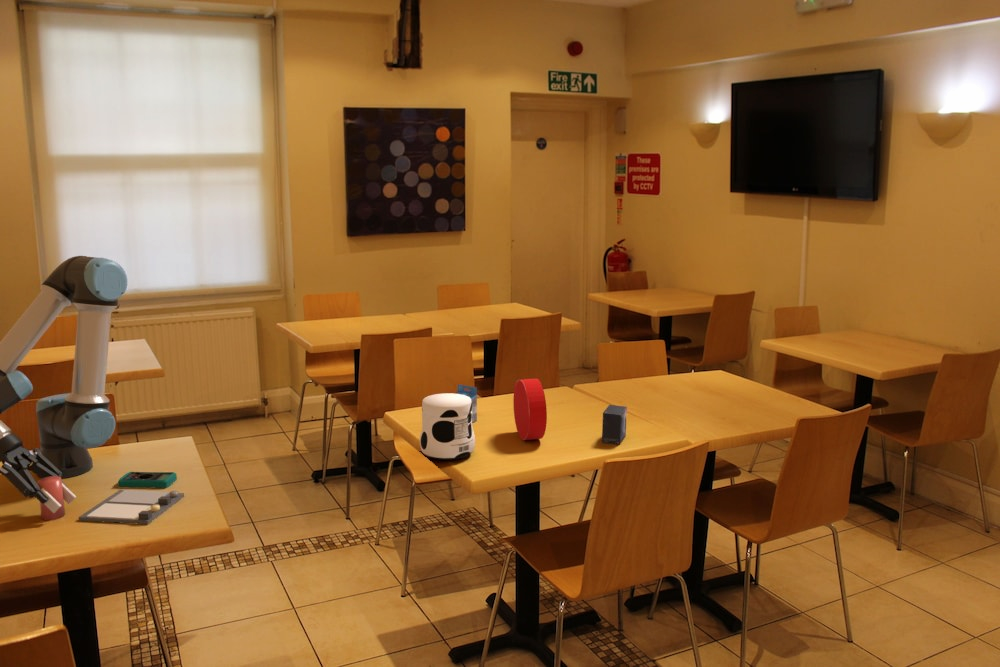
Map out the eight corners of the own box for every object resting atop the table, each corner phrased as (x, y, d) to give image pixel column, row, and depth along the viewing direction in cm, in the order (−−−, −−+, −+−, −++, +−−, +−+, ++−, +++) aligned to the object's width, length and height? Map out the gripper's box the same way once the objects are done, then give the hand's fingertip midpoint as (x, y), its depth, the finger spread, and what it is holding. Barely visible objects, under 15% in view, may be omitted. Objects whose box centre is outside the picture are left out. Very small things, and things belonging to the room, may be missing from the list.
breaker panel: (119, 493, 243) (119, 484, 243) (184, 496, 241) (183, 487, 240) (78, 520, 225) (77, 511, 224) (148, 524, 222) (147, 515, 222)
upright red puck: (546, 446, 281) (547, 386, 277) (529, 448, 280) (529, 388, 276) (529, 428, 300) (530, 372, 296) (513, 429, 299) (513, 373, 295)
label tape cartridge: (451, 419, 311) (450, 386, 308) (457, 417, 314) (457, 383, 312) (471, 423, 306) (470, 389, 303) (477, 421, 309) (477, 387, 307)
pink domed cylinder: (50, 511, 231) (46, 475, 229) (69, 512, 230) (65, 476, 228) (36, 519, 225) (32, 483, 223) (56, 520, 225) (52, 484, 223)
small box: (620, 445, 282) (621, 414, 280) (601, 443, 285) (601, 412, 282) (627, 435, 292) (627, 405, 290) (607, 434, 294) (608, 404, 292)
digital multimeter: (128, 479, 255) (127, 470, 254) (178, 480, 254) (177, 470, 253) (116, 489, 248) (115, 479, 247) (167, 490, 247) (166, 480, 246)
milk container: (428, 444, 284) (427, 391, 280) (480, 447, 281) (480, 393, 277) (413, 462, 267) (411, 405, 264) (467, 466, 264) (467, 408, 260)
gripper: (15, 440, 235) (78, 500, 236) (-34, 463, 217) (33, 528, 218) (31, 422, 234) (94, 482, 235) (-18, 444, 216) (51, 509, 217)
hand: (65, 504), depth 227 cm, fingers closed on pink domed cylinder, 5 cm apart
